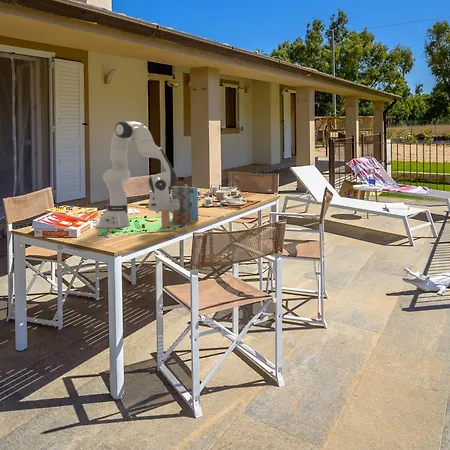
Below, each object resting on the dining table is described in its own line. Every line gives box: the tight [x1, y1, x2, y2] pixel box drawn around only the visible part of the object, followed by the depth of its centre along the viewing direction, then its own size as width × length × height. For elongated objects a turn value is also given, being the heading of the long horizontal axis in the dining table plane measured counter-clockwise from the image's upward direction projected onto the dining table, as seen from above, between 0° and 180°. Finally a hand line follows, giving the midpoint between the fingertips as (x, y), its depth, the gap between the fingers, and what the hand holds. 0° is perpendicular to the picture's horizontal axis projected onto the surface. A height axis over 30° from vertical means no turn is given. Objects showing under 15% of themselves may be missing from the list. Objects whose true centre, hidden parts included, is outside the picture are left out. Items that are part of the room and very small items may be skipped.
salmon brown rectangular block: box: [160, 210, 171, 228], centre depth 337 cm, size 5×4×12 cm
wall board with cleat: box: [171, 186, 191, 226], centre depth 345 cm, size 12×9×25 cm
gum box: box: [174, 185, 199, 220], centre depth 366 cm, size 20×5×23 cm, turn 56°
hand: (164, 212), depth 332 cm, fingers open, 8 cm apart
